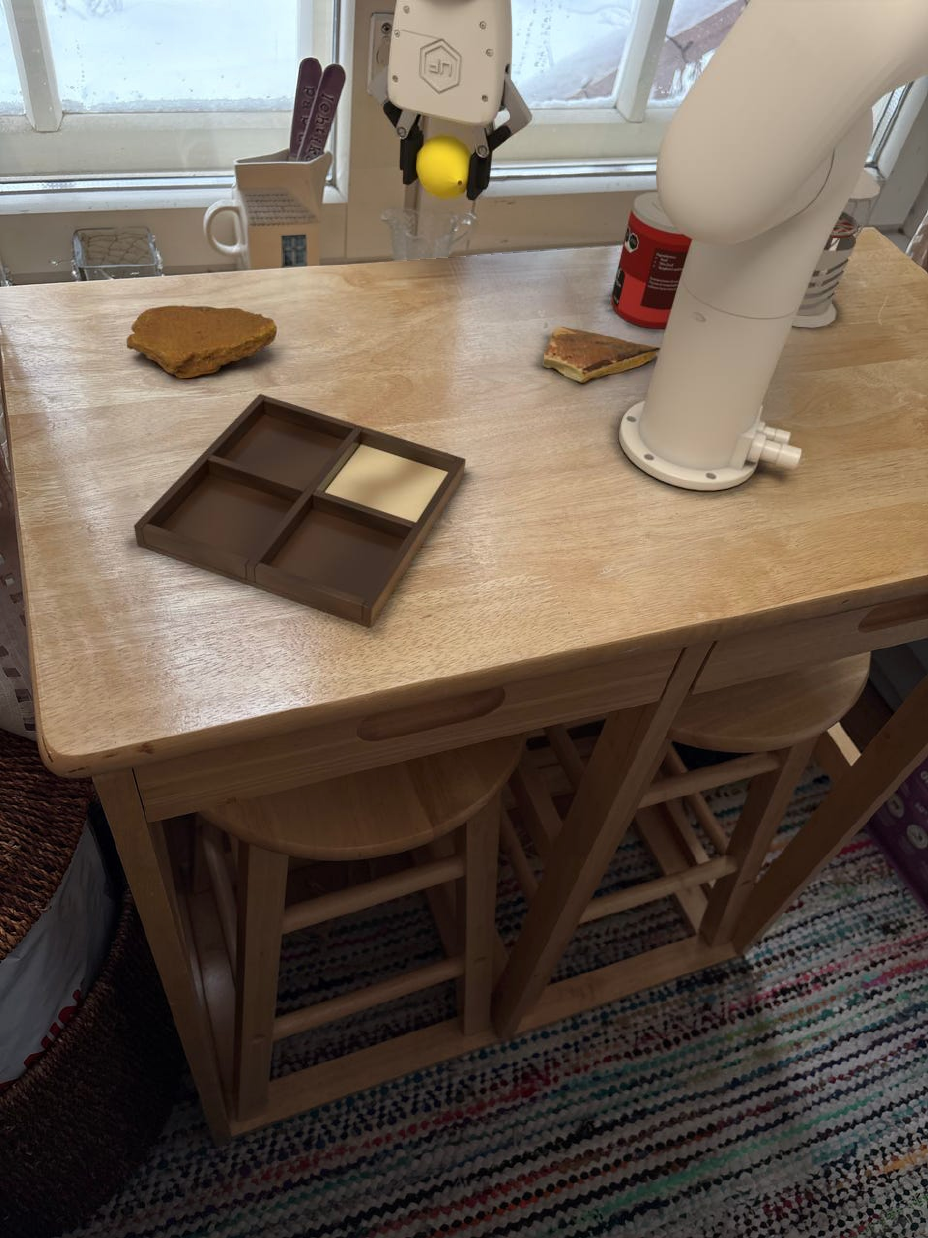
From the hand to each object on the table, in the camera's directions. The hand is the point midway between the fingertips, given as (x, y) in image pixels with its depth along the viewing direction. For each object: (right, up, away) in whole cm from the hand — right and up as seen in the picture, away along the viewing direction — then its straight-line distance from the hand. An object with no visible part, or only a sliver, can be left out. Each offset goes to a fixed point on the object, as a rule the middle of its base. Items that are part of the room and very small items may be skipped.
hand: (443, 185), depth 92 cm
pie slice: (+14, -15, +5) cm, 21 cm away
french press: (+39, -6, +17) cm, 43 cm away
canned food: (+21, -8, +12) cm, 26 cm away
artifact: (-23, -16, -2) cm, 28 cm away
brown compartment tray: (-10, -32, -15) cm, 37 cm away
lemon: (0, -1, +1) cm, 1 cm away
